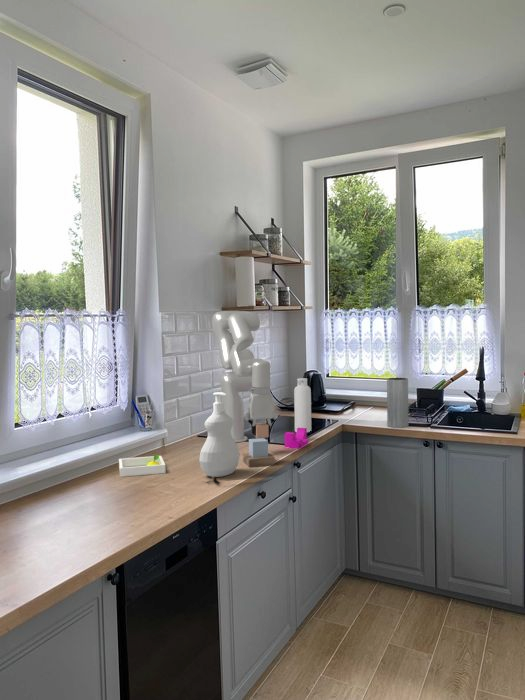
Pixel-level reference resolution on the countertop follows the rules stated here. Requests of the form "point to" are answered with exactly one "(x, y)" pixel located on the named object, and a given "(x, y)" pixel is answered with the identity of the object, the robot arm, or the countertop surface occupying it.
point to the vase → (397, 403)
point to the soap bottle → (219, 443)
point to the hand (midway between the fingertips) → (260, 434)
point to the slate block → (258, 447)
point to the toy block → (296, 438)
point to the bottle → (302, 405)
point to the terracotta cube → (262, 430)
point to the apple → (153, 461)
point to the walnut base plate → (258, 460)
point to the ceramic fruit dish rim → (140, 469)
